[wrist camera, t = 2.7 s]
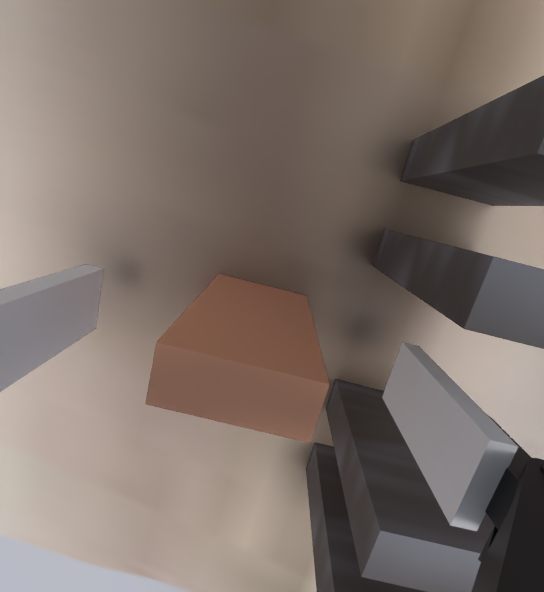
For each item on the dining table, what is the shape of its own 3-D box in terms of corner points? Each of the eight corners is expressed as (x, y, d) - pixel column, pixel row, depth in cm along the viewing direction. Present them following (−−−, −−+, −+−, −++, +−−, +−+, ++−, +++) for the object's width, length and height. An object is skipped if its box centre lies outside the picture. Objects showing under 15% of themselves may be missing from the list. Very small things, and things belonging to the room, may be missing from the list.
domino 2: (314, 442, 22) (339, 629, 12) (391, 460, 22) (475, 659, 13) (306, 468, 23) (323, 667, 13) (381, 486, 23) (454, 695, 13)
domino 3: (413, 139, 18) (576, 59, 8) (509, 165, 18) (784, 118, 8) (400, 180, 18) (537, 153, 8) (493, 205, 18) (733, 206, 8)
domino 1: (219, 273, 20) (156, 342, 10) (306, 295, 20) (329, 383, 10) (211, 307, 20) (145, 404, 10) (297, 328, 20) (310, 443, 11)
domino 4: (384, 229, 19) (493, 256, 9) (474, 252, 19) (677, 304, 9) (372, 265, 19) (463, 328, 9) (460, 288, 19) (638, 372, 10)
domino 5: (335, 379, 21) (380, 530, 11) (416, 398, 21) (529, 564, 11) (326, 408, 21) (361, 576, 12) (404, 427, 22) (504, 608, 12)
